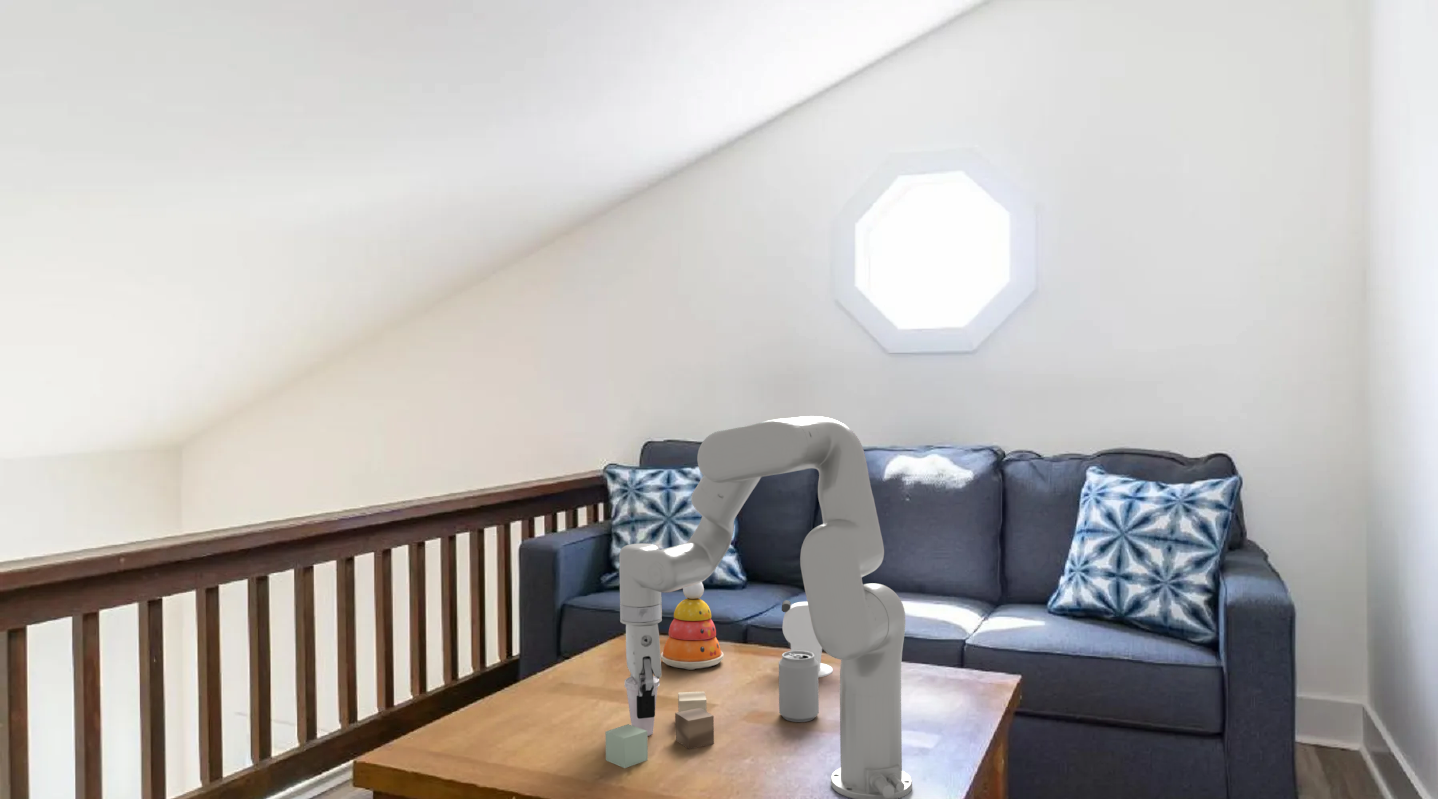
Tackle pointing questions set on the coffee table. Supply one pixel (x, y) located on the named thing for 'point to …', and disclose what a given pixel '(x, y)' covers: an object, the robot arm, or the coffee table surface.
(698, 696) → the maple cube
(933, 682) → the coffee table surface
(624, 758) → the sage painted cube
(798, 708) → the can
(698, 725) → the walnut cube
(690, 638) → the stacking toy
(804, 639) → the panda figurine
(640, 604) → the robot arm
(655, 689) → the smoothie
